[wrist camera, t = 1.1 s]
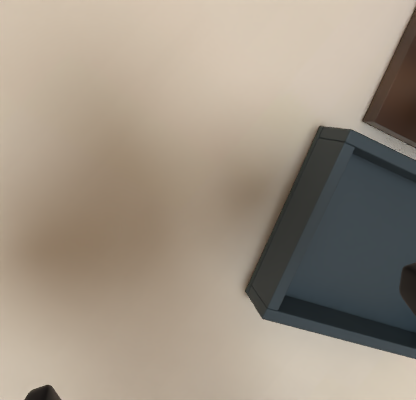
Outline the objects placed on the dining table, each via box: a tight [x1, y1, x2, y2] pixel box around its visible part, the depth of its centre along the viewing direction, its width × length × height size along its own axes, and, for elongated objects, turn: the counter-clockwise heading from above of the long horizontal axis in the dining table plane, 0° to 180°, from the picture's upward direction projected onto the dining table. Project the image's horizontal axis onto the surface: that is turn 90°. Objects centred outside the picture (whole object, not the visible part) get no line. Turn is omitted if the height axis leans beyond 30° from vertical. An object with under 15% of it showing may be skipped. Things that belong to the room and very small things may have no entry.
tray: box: [245, 126, 416, 359], centre depth 25 cm, size 13×17×4 cm
